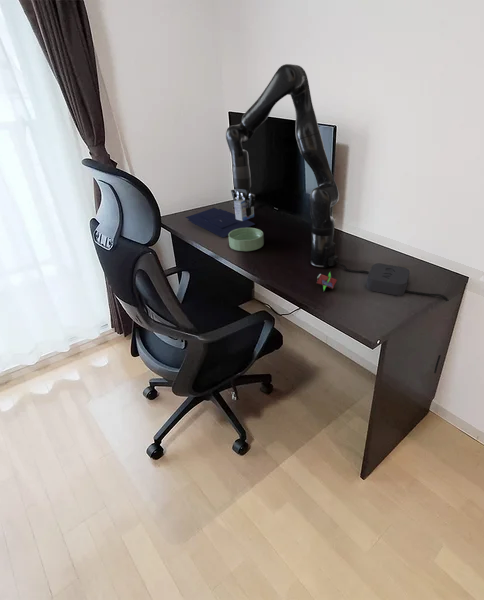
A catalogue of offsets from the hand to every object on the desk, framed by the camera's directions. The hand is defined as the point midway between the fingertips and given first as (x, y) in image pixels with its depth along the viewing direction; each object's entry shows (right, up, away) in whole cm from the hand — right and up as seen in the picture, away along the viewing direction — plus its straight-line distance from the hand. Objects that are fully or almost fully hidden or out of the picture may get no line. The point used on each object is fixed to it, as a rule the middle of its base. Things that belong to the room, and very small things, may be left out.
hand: (244, 214), depth 167 cm
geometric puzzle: (+36, -35, -27) cm, 56 cm away
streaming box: (+59, -33, -24) cm, 72 cm away
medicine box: (0, -2, +1) cm, 2 cm away
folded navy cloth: (-18, +1, +30) cm, 35 cm away
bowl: (0, -13, +8) cm, 15 cm away
